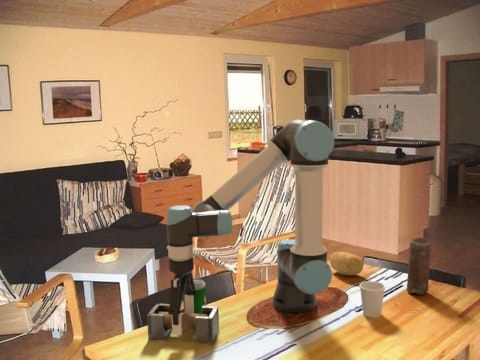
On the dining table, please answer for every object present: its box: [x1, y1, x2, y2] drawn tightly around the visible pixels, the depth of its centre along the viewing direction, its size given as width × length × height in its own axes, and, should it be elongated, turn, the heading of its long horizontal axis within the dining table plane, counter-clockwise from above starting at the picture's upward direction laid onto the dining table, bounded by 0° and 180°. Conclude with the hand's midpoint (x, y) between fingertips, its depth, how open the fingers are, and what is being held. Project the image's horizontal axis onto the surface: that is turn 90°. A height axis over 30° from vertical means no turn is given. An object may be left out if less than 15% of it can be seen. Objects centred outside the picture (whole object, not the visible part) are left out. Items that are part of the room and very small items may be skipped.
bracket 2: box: [195, 305, 220, 345], centre depth 152 cm, size 5×9×8 cm, turn 170°
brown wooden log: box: [158, 312, 208, 332], centre depth 154 cm, size 15×5×5 cm, turn 80°
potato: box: [329, 251, 365, 277], centre depth 204 cm, size 10×14×10 cm
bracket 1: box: [146, 303, 172, 342], centre depth 155 cm, size 5×9×8 cm, turn 170°
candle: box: [406, 237, 432, 295], centre depth 182 cm, size 8×7×20 cm
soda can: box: [182, 277, 207, 314], centre depth 168 cm, size 8×8×12 cm
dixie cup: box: [359, 280, 387, 319], centre depth 166 cm, size 8×8×10 cm
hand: (183, 324), depth 154 cm, fingers open, 13 cm apart
